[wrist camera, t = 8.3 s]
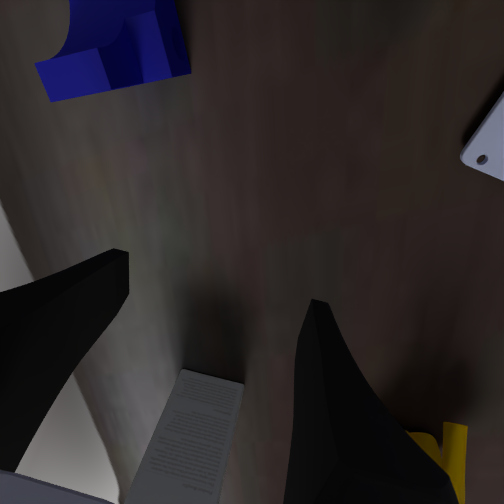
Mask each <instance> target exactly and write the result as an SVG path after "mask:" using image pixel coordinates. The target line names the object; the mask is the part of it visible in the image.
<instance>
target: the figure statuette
mask: <svg viewBox="0 0 504 504" xmlns="http://www.w3.org/2000/svg"><path fill="white" fill-rule="evenodd" d="M467 429H468V426H465V425H461V424H456V423H451V422H445V421H443V457H442V458H441V454H440V451H439V448H438V444H437V441H436V439H435V438H434V437H433V436H432V435H430V434H428V433H423V432H411V433H409V432H408V431H406V430H405V431H406V432H407V433H408V434H409V436H410V437H411V438H412V439H413V440H414V441H415V442H416V443H417V444H418V445H419V446H420V447H421V449H423V450H424V451H425V452H426V453H427V454H428V455H429V456H430V457H431V458H432V459H433V460H434V461H435V462H436V463H437V464H438V465H439V466H440V467H441V468H442V469H443V470H444V471H445V472H446V473H447V474H448V475H449V477H450V479H451V482H452V485H453V487H454V490H455V492H456V495H457V498H458V502H459V504H465V458H466V441H467Z"/></svg>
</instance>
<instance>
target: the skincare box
mask: <svg viewBox="0 0 504 504" xmlns="http://www.w3.org/2000/svg"><path fill="white" fill-rule="evenodd" d="M243 392H244V384H241V383H237V382H233V381H229V380H225V379H221V378H217V377H213V376H209V375H205V374H201V373H197V372H193V371H189V370H186V369H181V371H180V373H179V375H178V378H177V380H176V382H175V385H174V387H173V390H172V392H171V394H170V396H169V399H168V401H167V403H166V406H165V408H164V410H163V412H162V415H161V417H160V419H159V422H158V424H157V426H156V429H155V431H154V433H153V436H152V438H151V440H150V443H149V445H148V447H147V450H146V452H145V454H144V457H143V459H142V461H141V464H140V466H139V468H138V471H137V473H136V475H135V478H134V480H133V482H132V485H131V487H130V490H129V492H128V494H127V496H126V499H125V501H124V503H123V504H219V499H220V495H221V490H222V486H223V481H224V477H225V472H226V468H227V463H228V459H229V454H230V450H231V445H232V441H233V437H234V432H235V428H236V423H237V419H238V414H239V410H240V405H241V401H242V396H243Z"/></svg>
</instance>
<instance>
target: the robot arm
mask: <svg viewBox="0 0 504 504" xmlns="http://www.w3.org/2000/svg"><path fill="white" fill-rule="evenodd" d="M480 155H485V159H484V160H483V161H482V162H480V163H477V162H476V160H477V158H478V157H479V156H480ZM460 159H461V161H462V162H463V163H465V164H466V165H468V166H470V167H473V168H475V169H477V170H479V171H482V172H484V173H486V174H489V175H491V176H493V177H496V178H498V179H500V180H503V181H504V92H503V93H502V95H501V96H500V97H499V99H498V100H497V102H496V103H495V104H494V106H493V107H492V109H491V110H490V112H489V113H488V114H487V116H486V117H485V119H484V120H483V121H482V123H481V124H480V126H479V127H478V128H477V130H476V131H475V133H474V134H473V136H472V137H471V138H470V140H469V141H468V143H467V144H466V145H465V147H464V148H463V150H462V151H461V153H460ZM128 295H129V252H126V251H122V250H118V249H114V248H113V249H111V250H108V251H106V252H103V253H101V254H99V255H97V256H94V257H92V258H90V259H88V260H85V261H83V262H81V263H79V264H76V265H74V266H72V267H69V268H67V269H65V270H62V271H60V272H57V273H55V274H52V275H50V276H47V277H45V278H42V279H39V280H37V281H34V282H31V283H28V284H25V285H22V286H19V287H16V288H13V289H10V290H7V291H3V292H0V504H114V503H112V502H109V501H107V500H104V499H101V498H98V497H94V496H91V495H88V494H84V493H81V492H78V491H74V490H71V489H68V488H64V487H61V486H57V485H54V484H51V483H48V482H44V481H41V480H37V479H34V478H31V477H28V476H24V475H21V474H18V473H14V472H15V471H16V469H17V467H18V465H19V463H20V461H21V459H22V457H23V455H24V453H25V451H26V450H27V448H28V446H29V444H30V442H31V441H32V438H33V437H34V435H35V433H36V432H37V430H38V428H39V426H40V425H41V423H42V421H43V419H44V418H45V416H46V414H47V412H48V411H49V409H50V407H51V406H52V404H53V402H54V401H55V399H56V397H57V396H58V394H59V393H60V391H61V389H62V388H63V386H64V384H65V383H66V382H67V380H68V378H69V377H70V375H71V374H72V372H73V371H74V369H75V368H76V366H77V365H78V364H79V362H80V361H81V359H82V358H83V357H84V356H85V354H86V353H87V352H88V351H89V349H90V348H91V347H92V345H93V344H94V343H95V342H96V340H97V339H98V338H99V337H100V335H101V334H102V333H103V332H104V330H105V329H106V328H107V327H108V325H109V324H110V323H111V321H112V320H113V319H114V318H115V316H116V315H117V313H118V312H119V310H120V308H121V307H122V305H123V303H124V302H125V300H126V298H127V296H128ZM283 504H459V502H458V498H457V495H456V492H455V490H454V487H453V485H452V482H451V479H450V477H449V475H448V474H447V473H446V472H445V471H444V470H443V469H442V468H441V467H440V466H439V465H438V464H437V463H436V462H435V461H434V460H433V459H432V458H431V457H430V456H429V455H428V454H427V453H426V452H425V451H424V450H423V449H421V447H420V446H419V445H418V444H417V443H416V442H415V441H414V440H413V439H412V438H411V437H410V436H409V434H408V433H407V432H406V431H405V430H404V429H403V428H402V427H401V425H400V424H399V423H398V422H397V421H396V420H395V418H394V417H393V416H392V415H391V413H390V412H389V411H388V410H387V408H386V407H385V406H384V405H383V403H382V402H381V401H380V399H379V398H378V397H377V395H376V394H375V393H374V391H373V390H372V388H371V387H370V385H369V384H368V382H367V381H366V379H365V378H364V376H363V374H362V373H361V371H360V369H359V368H358V366H357V364H356V362H355V360H354V359H353V357H352V355H351V353H350V351H349V349H348V347H347V345H346V343H345V341H344V339H343V337H342V335H341V332H340V330H339V328H338V325H337V323H336V321H335V318H334V316H333V313H332V311H331V308H330V306H329V304H328V303H326V302H323V301H319V300H315V299H312V300H311V303H310V305H309V308H308V311H307V314H306V317H305V320H304V322H303V325H302V328H301V331H300V334H299V337H298V342H297V349H296V356H295V371H294V417H293V432H292V440H291V448H290V457H289V464H288V472H287V480H286V487H285V495H284V502H283Z"/></svg>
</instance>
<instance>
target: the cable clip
mask: <svg viewBox="0 0 504 504" xmlns="http://www.w3.org/2000/svg"><path fill="white" fill-rule="evenodd" d="M69 2H70V25H69V32H68V35H67V39H66V41H65V44H64V46H63V47H62V49H61V50H60V52H59V53H58V54H57V55H56V56H54V57H53V58H51V59H49V60H46V61H42V62H38V63H34V64H35V66H36V68H37V71H38V73H39V75H40V78H41V80H42V82H43V85H44V87H45V89H46V92H47V94H48V96H49V99H50V101H51V102H55V101H60V100H65V99H70V98H75V97H80V96H85V95H90V94H95V93H100V92H105V91H110V90H115V89H120V88H125V87H130V86H134V85H139V84H144V83H149V82H153V81H158V80H163V79H167V78H172V77H177V76H182V75H186V74H191V69H190V65H189V61H188V57H187V53H186V48H185V44H184V40H183V36H182V32H181V27H180V23H179V19H178V15H177V11H176V7H175V2H174V0H69Z"/></svg>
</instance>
